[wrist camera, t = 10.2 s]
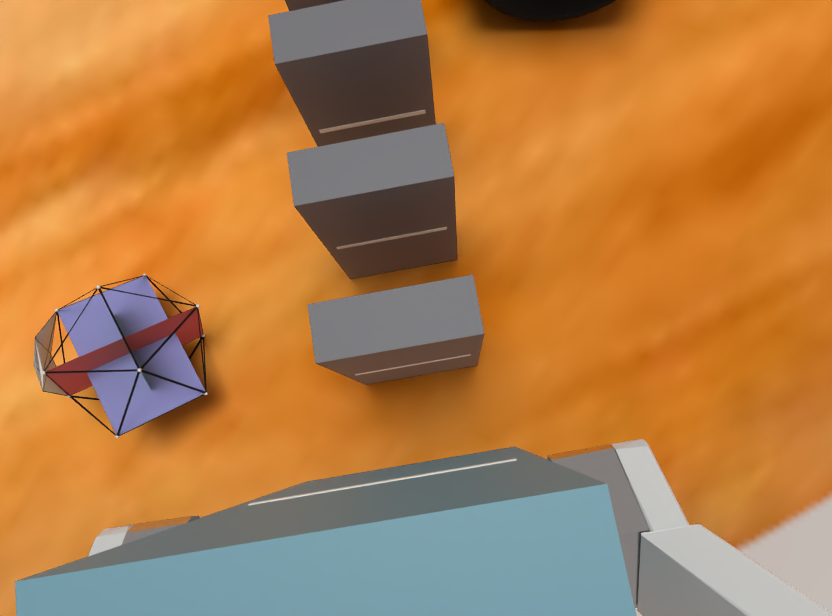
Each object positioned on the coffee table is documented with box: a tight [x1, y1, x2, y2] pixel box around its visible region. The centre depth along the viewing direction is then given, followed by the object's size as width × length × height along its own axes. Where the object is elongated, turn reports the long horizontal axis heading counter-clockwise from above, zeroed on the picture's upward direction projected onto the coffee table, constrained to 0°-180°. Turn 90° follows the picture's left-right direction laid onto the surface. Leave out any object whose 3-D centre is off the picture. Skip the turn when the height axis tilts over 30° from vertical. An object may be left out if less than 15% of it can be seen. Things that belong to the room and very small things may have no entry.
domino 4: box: [15, 447, 636, 616], centre depth 11 cm, size 2×6×11 cm, turn 100°
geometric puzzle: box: [34, 274, 208, 438], centre depth 29 cm, size 7×7×8 cm
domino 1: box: [268, 0, 436, 147], centre depth 28 cm, size 2×6×11 cm, turn 99°
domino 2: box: [287, 123, 457, 279], centre depth 27 cm, size 2×6×11 cm, turn 99°
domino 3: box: [308, 275, 484, 385], centre depth 26 cm, size 2×6×11 cm, turn 99°
